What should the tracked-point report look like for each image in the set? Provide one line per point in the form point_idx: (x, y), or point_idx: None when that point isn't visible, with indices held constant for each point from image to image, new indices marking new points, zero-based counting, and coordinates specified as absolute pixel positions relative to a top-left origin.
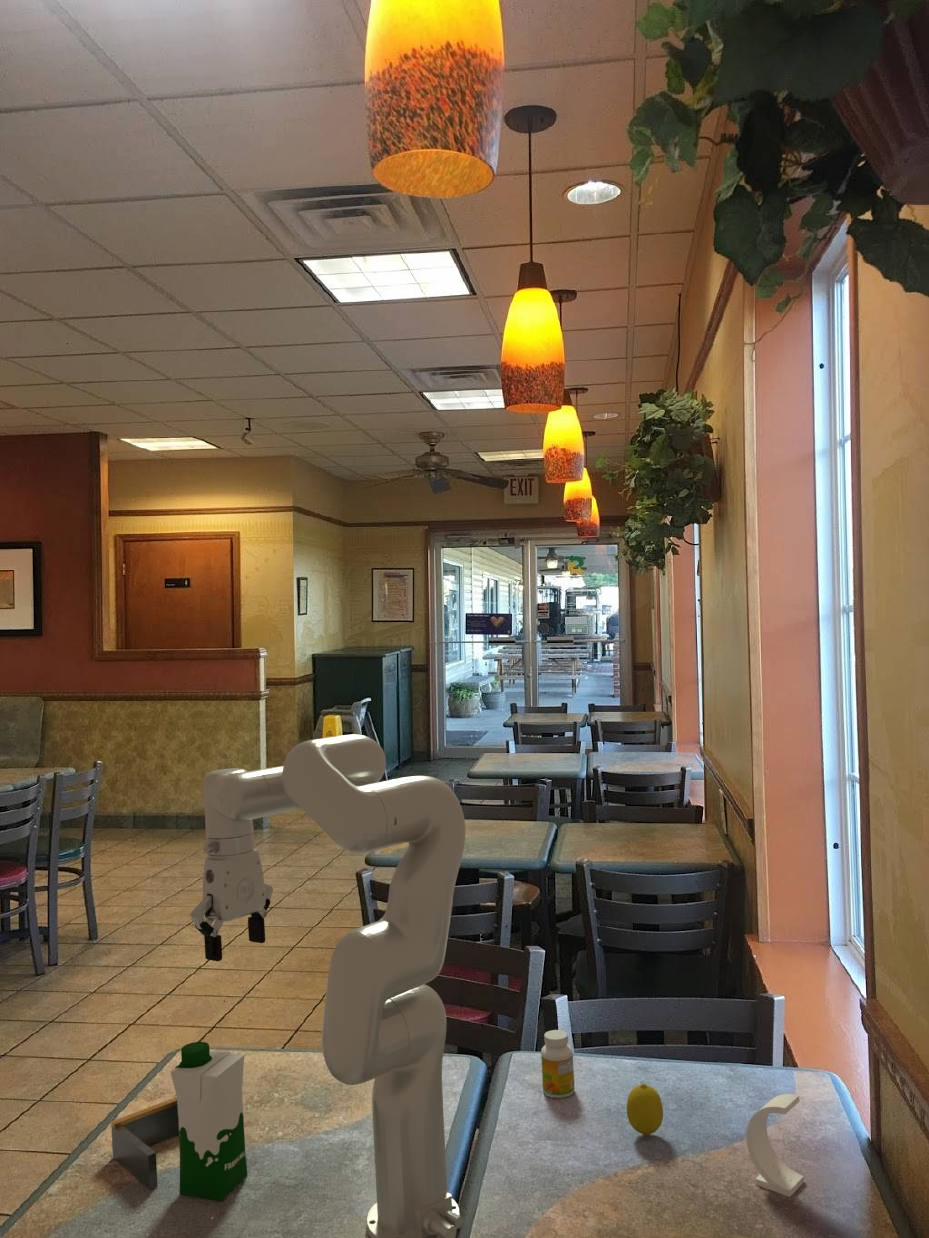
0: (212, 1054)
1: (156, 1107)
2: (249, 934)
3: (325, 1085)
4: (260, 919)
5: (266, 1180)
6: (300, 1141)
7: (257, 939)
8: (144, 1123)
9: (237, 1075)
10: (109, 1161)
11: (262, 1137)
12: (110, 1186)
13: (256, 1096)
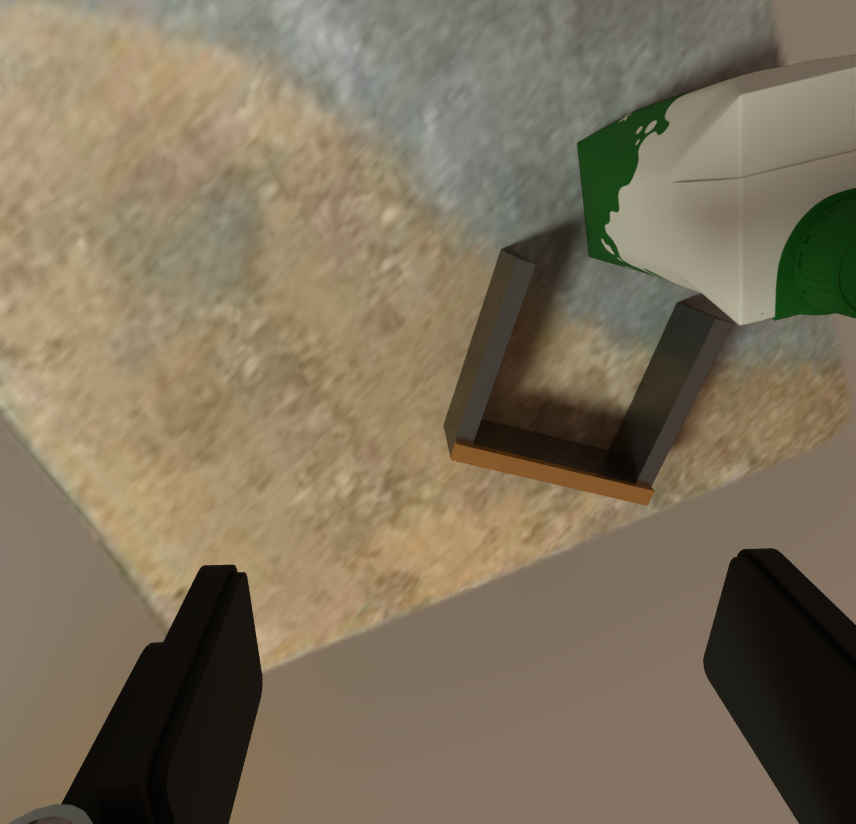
0: (776, 237)
1: (560, 471)
2: (247, 731)
3: (139, 284)
4: (145, 800)
5: (577, 78)
6: (396, 132)
7: (245, 627)
8: (583, 464)
9: (782, 75)
10: None
11: (425, 242)
12: (701, 389)
13: (284, 401)
